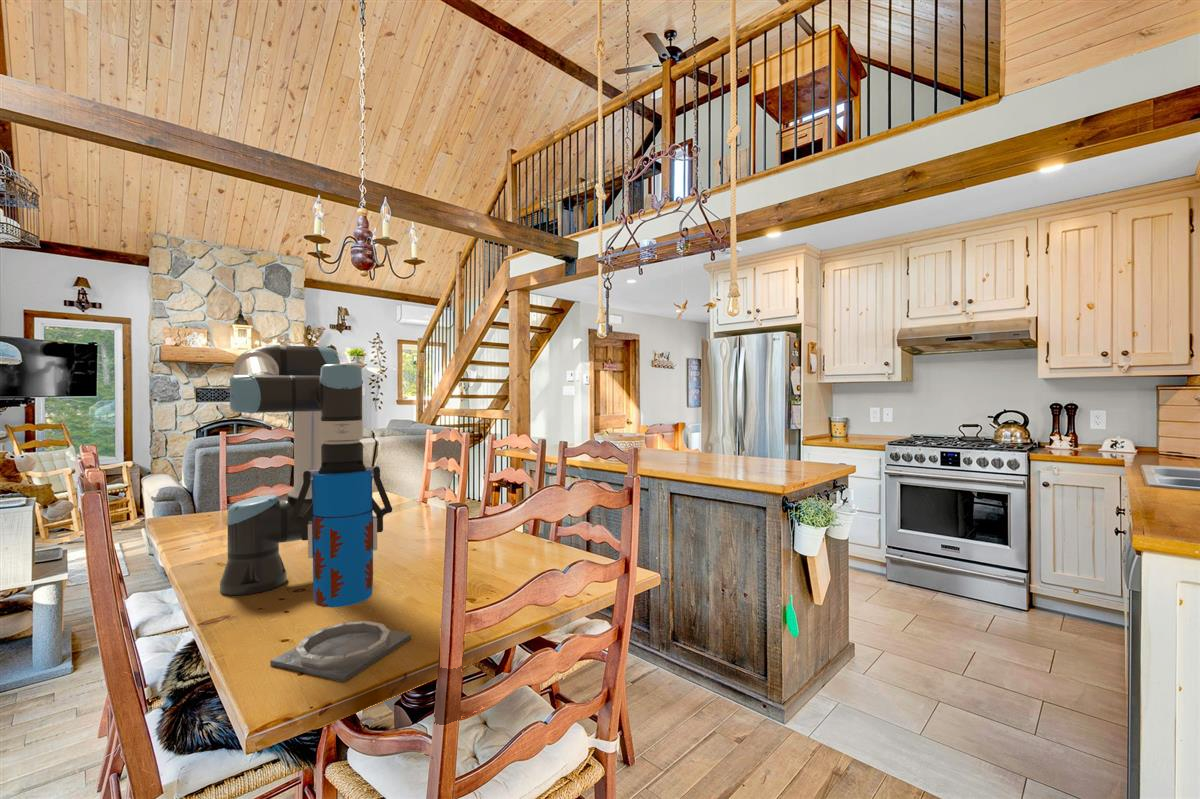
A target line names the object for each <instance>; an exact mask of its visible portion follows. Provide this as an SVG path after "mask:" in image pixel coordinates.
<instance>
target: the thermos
mask: <svg viewBox="0 0 1200 799" xmlns="http://www.w3.org/2000/svg"><path fill="white" fill-rule="evenodd" d="M372 498H373V477H372V476H371V470H370V471H360V472H352V473H348V472H344V473H337V474H333V473H328V474H313V480H312V503H313V515H312V530H313V558H312V586H313V599H314V600H313V601H314V604H315V605H316V606H318V607H322V608H331V609H332V608H342V607H347V606H348V607H349V606H352V605H355V604H358V603H359V604H360V603H362V602H365V601H366V600H368V599H369V598H371V597H372V596H373V586H374V581H373V580H374V550H373V515H374V511H373V510H372Z"/></svg>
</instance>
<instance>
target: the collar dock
mask: <svg viewBox="0 0 1200 799" xmlns="http://www.w3.org/2000/svg"><path fill="white" fill-rule="evenodd" d="M412 637H413V636H412V633H408V632H403V631H398V630H391V629H389V628H388V627H386V625H385V624H383V623H380V622H379V623H378V622H374V621H368V620H363V621H361V620H360V621H349V622H348V621H343V622H342V623H338V624H334V625H331V626H326V627H322V628H320V629H318V630H316V631H314V632H312V633H311V634H308V635H306V636H304V637H303V638H302V639H301V641H300V642H299V643H298V644H297V646H295V647H293V648H291V649H289V650H287V651H286V652H283V653H282V654H280V655H277V656H276V657H273V658H272V659H270V661H269V662H270V664H269V665H270V666H271V667H275V668H279V669H285V670H289V671H293V672H298V673H302V674H306V675H311V676H315V677H318V678H319V677H320V678H323V679H328V680H333V681H337V682H342V683H346V682H347V681H349V680H351V679H352V678H353V677H355V676H357V675H358V674H360V673H361V672H363V671H364V670H366V669H367V668H369V667H371V666H372V665H373V664H375V663H377V662H379V661H380V660H381V659H383V658H384V657H386V656H387V655H389V654H390V653H392V652H393V651H395V650H397V649H398V648H399V646H400V645H401V646H403V645H404V644H406V643H407V642H409V641H410V640H412V639H411V638H412ZM409 639H410V640H409ZM408 640H409V641H408ZM406 641H407V642H406ZM405 642H406V643H405ZM403 643H404V644H403ZM402 644H403V645H402ZM401 646H400V647H401ZM397 647H398V648H397ZM396 648H397V649H396ZM388 653H389V654H388Z"/></svg>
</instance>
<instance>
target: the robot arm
mask: <svg viewBox="0 0 1200 799" xmlns="http://www.w3.org/2000/svg"><path fill="white" fill-rule="evenodd" d="M340 361H341V360H340V358H339V355H338V353H337V351H336V350H335V349H334V348H331V347H326V346H318V345H316V346H315V345H314V346H313V345H283V344H282V345H281V344H280V345H279V344H269V345H263V346H258V347H257V346H256V347H254V348H251V349H248V350H246V351H244V352H242V353H241V354H240V355H238V357H237V358H236V359H235V361H234V363H233V366H232V368H233V369H232V373H233V375H232V376H230V378H229V408H230V410H231V411H232V412H234V413H240V414H241V413H242V414H243V413H244V414H247V413H248V414H256V413H257V414H258V413H286V412H288V413H291V412H292V413H293V487H292V488H290V489H289V490H288V491H287V498H285V499H284V498H283V499H280V497H279V495H277V494H266V495H265V494H264V495H259V496H255V497H253V496H252V497H249V498H246V499H242V500H239V501H236V502H234V503H232V504H231V505H230V506H229V507H228V508H227V516H226V517H227V518H226V522H225V523H226V525H227V562H226V564H225V567H224V570H223V573H222V577H221V578H220V581H219V592H220V593H221V594H224V595H230V596H243V595H251V594H257V593H262V592H265V591H269V590H270V591H271V590H273V589H275V588H278V587H280V586H282V585H284V584H285V583H286V582H287V580H288V579H287V577H288V574H287V570H286V567H285V564H284V562H283V560H282V557H281V555H280V544H281V543H289V542H297V541H307V549H308V550H307V559H313V530H312V515H313V503H312V480H313V474H328V473H333V474H337V473H344V472H348V473H352V472H360V471H370V470H371V476H372V479H373V481H374V484H375V486H376V489H377V491H378V493H379V496H380V499H381V502H382V504H383V507H380V506H379V504H378V503H377V502H376V500H375V499H374V498H373V497H372V510H373V513H375V515H374V514H373V551H378V533H383V531H384V516H385V515H387V514H390V513H392V512H393V507H392V505H391V502H390V499H389V497H388V494H387V492H386V490H385V487H384V484H383V482H382V480H381V468H380V466H379V465H374V466H365V464H364V443H362V442H361V440H363V438H364V431H363V430H364V428H363V427H364V424H363V423H364V422H363V421H364V420H363V385H364V380H363V372H362V367H361V366H360V365H358V364H352V363H351V364H350V363H348V364H347V363H341V362H340Z"/></svg>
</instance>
